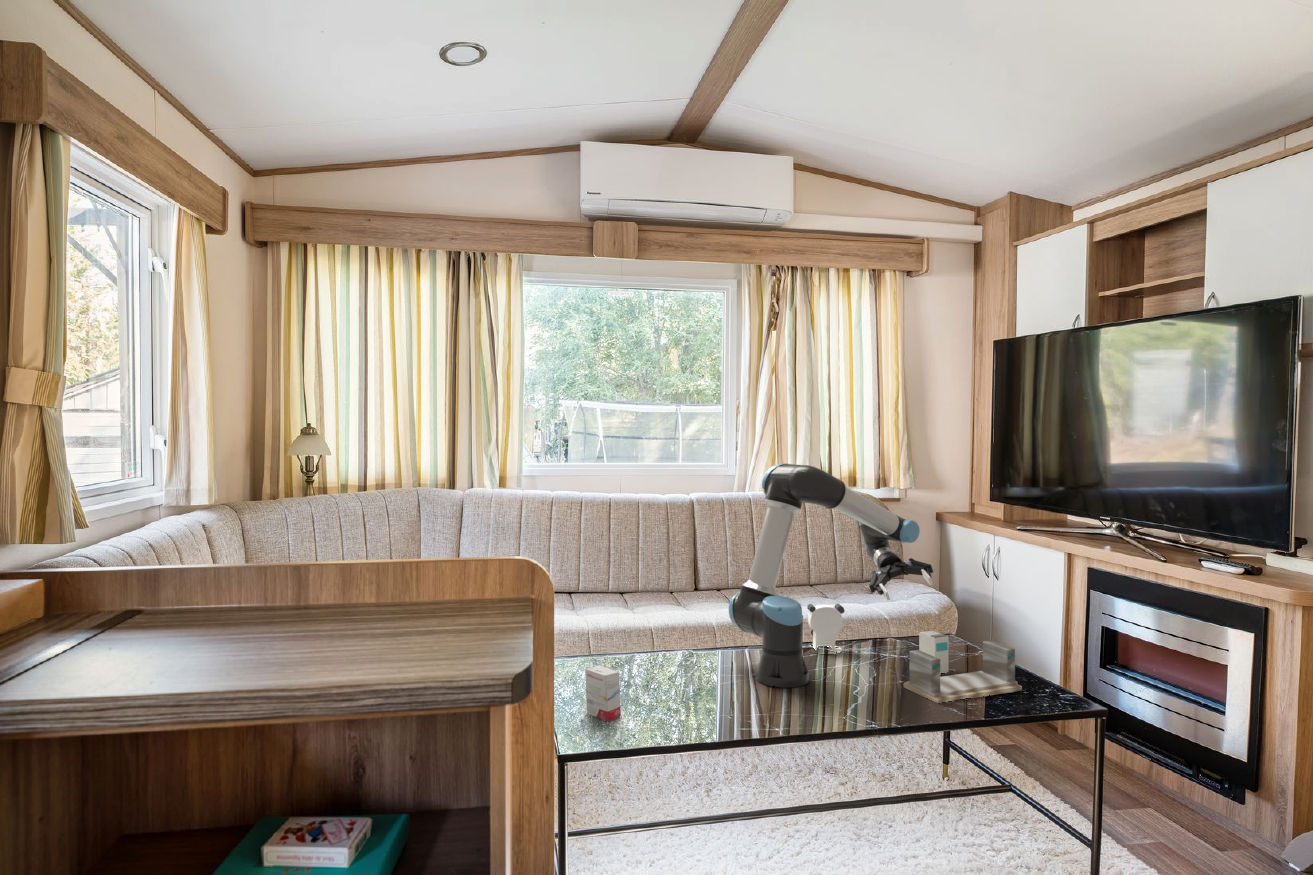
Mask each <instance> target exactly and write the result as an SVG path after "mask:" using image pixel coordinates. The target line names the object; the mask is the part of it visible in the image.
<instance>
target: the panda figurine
mask: <svg viewBox="0 0 1313 875" xmlns="http://www.w3.org/2000/svg"><path fill="white" fill-rule="evenodd" d="M806 607H807V610H808V611H809V612H808V615H807V623H808V627H810V629H811V630H810V634H811V636H812V644H811V645H813V648H814V649H815V650H817V647H818V646H827V647H829V646H830V647H831V648H832V650H830V651H842V652H843V648H841V647H840V646H837V645H836V638H837V634H838V633H839V632H840V631H841V630H842V629H843V626H844V618H843V615H842V614H844V613H845V607H844V606H842V605H841V604H839V603H835V605H834V606H832V605H830V604H817V605H814V604H812V603H809V604H807V606H806ZM811 645H809V646H811ZM835 647H839V648H835ZM837 653H839V652H837ZM834 654H836V652H835V653H834ZM836 655H837V654H836Z"/></svg>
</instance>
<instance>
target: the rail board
mask: <svg viewBox="0 0 1313 875" xmlns="http://www.w3.org/2000/svg"><path fill="white" fill-rule="evenodd" d="M908 652H909V681H907V682H904V683H903V688H904V689H907V690H909V691H911V692H913V693H915V694H917V695H919V696H921V697H923V698H925V699H927V698H928V700H929V701H931V700H932V701H931V702H933V701H934V703H935V702H937V703H939V702H946V703H949V702H948V701H952V702H954V701H953V700H958V699H965V698H971V699H978V698H981V697H983V696H984V697H988V696H989V695H990V696H994V695H1001V694H1008V693H1014V692H1020V691H1023V686H1022V685H1021V684H1018V681H1017V680H1016V662H1015V661H1016V649H1015V648H1014V647H1011V646H1008V645H1005V644H1002V643H999V642H996V641H993V640H985V641H982V670H978V671H972V672H965V673H959V674H951V675H945V676H941V674H940V659H939V658H937V657H934V656H932V655H929V654H927V653H925V652H922V651H920V650H919V649H916V650H915V649H914V650H909V651H908ZM965 700H966V699H965ZM937 703H936V704H937Z"/></svg>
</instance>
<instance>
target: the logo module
mask: <svg viewBox="0 0 1313 875" xmlns="http://www.w3.org/2000/svg"><path fill="white" fill-rule="evenodd" d="M918 633H919V635H918V640H919V642H918V643H919V646H918V647H919V648H918V650H920V651H922V652H925V653H927V654H929V655H932V656H934V657H937V658H939V659H940V675H942V674H941V673H945V674H948V673H949V636H948V635H946V634H945V633H940V632H938V631H935V630H929V631H920V632H918ZM947 672H948V673H947Z"/></svg>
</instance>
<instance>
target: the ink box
mask: <svg viewBox="0 0 1313 875" xmlns="http://www.w3.org/2000/svg"><path fill="white" fill-rule="evenodd" d="M584 670H585V694H586V696H585V697H586V698H585V699H586V700H585V701H586V702H585V703H586V714H587V715H590V716H591V717H594V718H597V719H600V720H603V721H605V722H610V721H613V720H615V719H618V718H620V717H621V715H622V714H621V692H620V690H621V689H620V688H621V686H620V671H617V670H614V669H612V668H610V667H606V666H603V665H600V664H599V665H595V666H592V667H588V668H586V669H584Z"/></svg>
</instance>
